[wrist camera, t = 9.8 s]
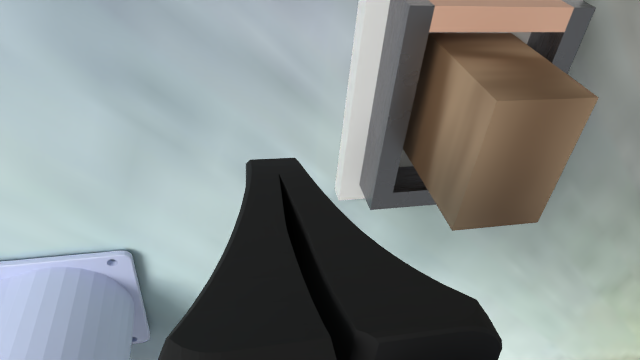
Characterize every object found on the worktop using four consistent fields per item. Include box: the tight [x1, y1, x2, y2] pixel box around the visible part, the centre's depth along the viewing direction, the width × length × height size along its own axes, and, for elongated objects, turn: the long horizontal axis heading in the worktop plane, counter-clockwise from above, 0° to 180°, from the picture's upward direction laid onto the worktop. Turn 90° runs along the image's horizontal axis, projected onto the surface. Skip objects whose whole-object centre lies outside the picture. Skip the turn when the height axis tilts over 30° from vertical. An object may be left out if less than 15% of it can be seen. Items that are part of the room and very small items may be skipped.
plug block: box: [403, 33, 598, 231], centre depth 21 cm, size 4×6×6 cm, turn 175°
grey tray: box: [335, 0, 595, 210], centre depth 23 cm, size 10×12×3 cm
